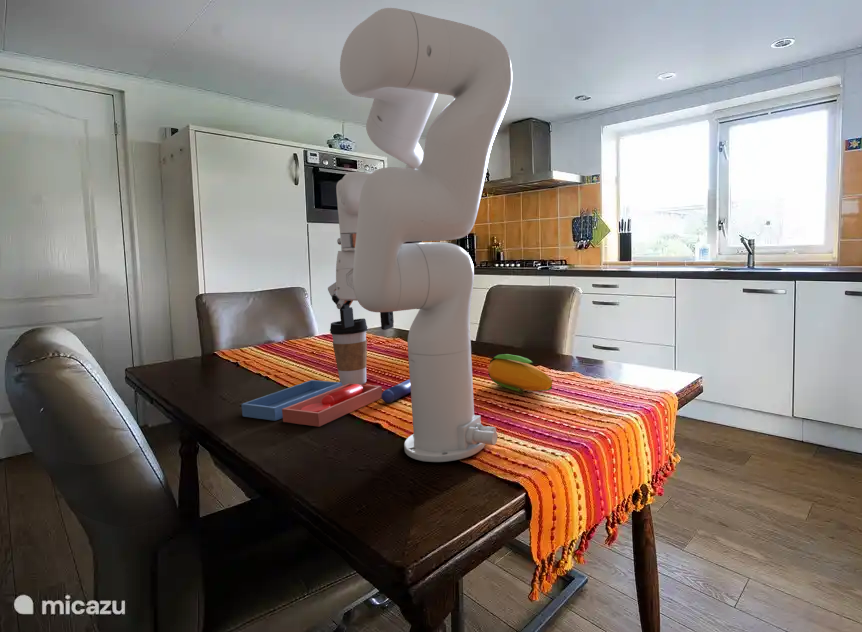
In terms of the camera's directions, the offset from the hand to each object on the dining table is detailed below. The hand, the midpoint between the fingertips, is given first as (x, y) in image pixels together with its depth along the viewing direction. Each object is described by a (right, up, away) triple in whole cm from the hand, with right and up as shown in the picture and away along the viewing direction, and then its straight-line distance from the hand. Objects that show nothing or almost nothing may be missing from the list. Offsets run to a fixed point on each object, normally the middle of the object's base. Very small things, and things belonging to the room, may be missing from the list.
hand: (367, 328), depth 103 cm
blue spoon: (+7, -14, +6) cm, 17 cm away
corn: (+32, -14, +6) cm, 35 cm away
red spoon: (-6, -16, -2) cm, 17 cm away
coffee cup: (-8, -14, +17) cm, 23 cm away
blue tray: (-15, -16, +2) cm, 22 cm away
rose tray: (-6, -16, -2) cm, 17 cm away
